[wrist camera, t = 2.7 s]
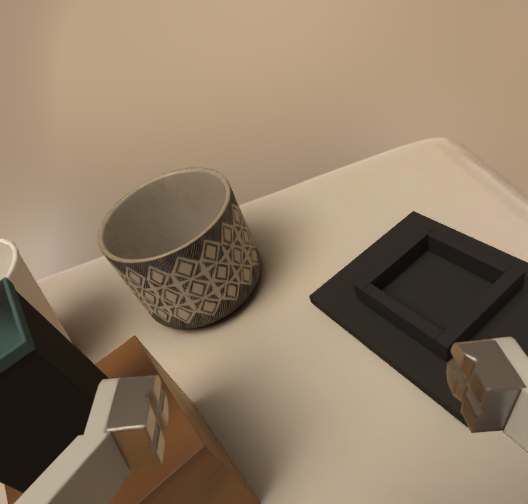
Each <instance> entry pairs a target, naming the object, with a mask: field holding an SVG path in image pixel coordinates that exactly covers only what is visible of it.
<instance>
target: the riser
mask: <svg viewBox="0 0 528 504" xmlns="http://www.w3.org/2000/svg"><path fill="white" fill-rule="evenodd" d="M95 366H97V367H98V368H99V369H100V370H101V371H102V372H103V373H104V374H105V375H106V376H107V377H108V378H109V379H112V378H123V377H135V376H148V375H159V377H160V380H161V382H162V383H161V390H162V391H164V392H165V393H166V396H167V400H168V413H169V417H168V426H167V428H166V429H165V430H164V431H163V433H162V434H163V437H164V440H165V449H164V456H163V463H162V466H156V467H149V468H141V469H134V470H130V471H131V473H130V474H129V476H128V477H127V479H126V480H125V481H124V483H123V484H122V486H121V487H120V489H119V490H118V492H117V493H116V495H115V496H114V498H113V499H112V501H111V502H110V504H260V502H259V500H258V499H257V497H256V496H255V495H254V493H253V492H252V490H251V489H250V487H249V486H248V484H247V483H246V481H245V480H244V478H243V477H242V475H241V474H240V472H239V471H238V469H237V468H236V466H235V465H234V463H233V462H232V460H231V459H230V457H229V456H228V454H227V453H226V451H225V450H224V448H223V447H222V445H221V444H220V442H219V441H218V440H217V438H216V437H215V435H214V434H213V432H212V431H211V429H210V428H209V426H208V425H207V423H206V422H205V420H204V419H203V417H202V416H201V414H200V413H199V411H198V410H197V408H196V407H195V405H194V404H193V402H192V401H191V400H190V399H189V398H188V397H187V395H186V394H185V393H184V392H183V391H182V390H181V389H180V387H179V386H178V385H177V384H176V383H175V382H174V380H173V379H172V378H171V377H170V376H169V375H168V373H167V372H166V371H165V370H164V369H163V368H162V366H161V365H160V364H159V363H158V362H157V361H156V359H155V358H154V357H153V356H152V355H151V354H150V353H149V351H148V350H147V349H146V348H145V347H144V346H143V344H142V343H141V342H140V341H139V340H138V339H137V337H136V336H133V337H132V338H130V339H129V340H128V341H126V342H125V343H124V344H122V345H121V346H119V347H118V348H117V349H115V350H114V351H113V352H111V353H110V354H109V355H107V356H106V357H105V358H103V359H102V360H101V361H99V362H98V363H97V364H95ZM4 485H5V484H4ZM5 490H6V495H7V501H8V504H14V503H15V502H16V501H17V500H18V499H19V498H20V496H21V495H22V494H23V493H22V492H20V491H18V490H16V489H14V488H11V487H9V486H7V485H5Z"/></svg>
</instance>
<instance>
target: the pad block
mask: <svg viewBox="0 0 528 504" xmlns="http://www.w3.org/2000/svg"><path fill="white" fill-rule="evenodd" d="M102 379H109V378H108V377H107V376H106V375H105V374H104V373H103V372H102V371H101V370H100V369H99V368H98V367H97V366H95V365H94V364H93V363H92V362H91V361H90V360H89V359H88V358H87V357H86V356H85V355H84V354H83V353H82V352H81V351H80V350H79V349H77V348H76V347H75V346H74V345H73V344H72V343H71V342H70V341H69V340H68V339H67V338H66V337H65V336H64V335H63V334H62V333H61V332H59V331H58V330H57V329H56V328H55V327H54V326H53V325H52V324H51V323H50V322H49V321H48V320H47V319H46V318H45V317H44V316H43V315H42V314H40V313H39V312H38V311H37V310H36V309H35V308H34V307H33V306H32V305H31V304H30V303H29V302H28V301H27V300H26V299H25V298H24V297H22V296H21V295H20V294H19V293H18V292H17V291H16V290H15V287H14V284H13V283H12V282H11V281H10V280H9V279H8V278H6V277H4V278H3V279H1V280H0V482H1V483H3V484H5V485H7V486H9V487H11V488H14V489H16V490H18V491H20V492H22V493H24V492H25V491H26V490H27V489H28V488H29V487H30V486H31V485H32V484H33V483H34V482H35V481H36V480H37V478H38V477H39V476H40V475H41V474H42V473H43V472H44V471H45V470H46V469H47V468H48V467H49V466H50V465H51V464H52V463H53V462H54V461H55V459H56V458H57V457H58V456H59V455H60V454H61V453H62V452H63V451H64V450H65V449H66V448H67V447H68V446H69V445H70V444H71V443H72V441H73V440H74V439H75V438H76V437H77V436H79V435H84V432H85V428H86V425H87V422H88V418H89V415H90V412H91V409H92V405H93V402H94V399H95V395H96V392H97V389H98V385H99V384H100V382H101V381H102Z"/></svg>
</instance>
